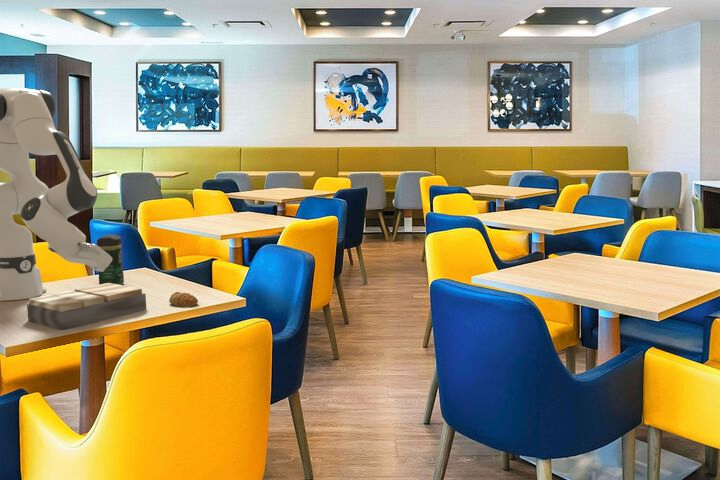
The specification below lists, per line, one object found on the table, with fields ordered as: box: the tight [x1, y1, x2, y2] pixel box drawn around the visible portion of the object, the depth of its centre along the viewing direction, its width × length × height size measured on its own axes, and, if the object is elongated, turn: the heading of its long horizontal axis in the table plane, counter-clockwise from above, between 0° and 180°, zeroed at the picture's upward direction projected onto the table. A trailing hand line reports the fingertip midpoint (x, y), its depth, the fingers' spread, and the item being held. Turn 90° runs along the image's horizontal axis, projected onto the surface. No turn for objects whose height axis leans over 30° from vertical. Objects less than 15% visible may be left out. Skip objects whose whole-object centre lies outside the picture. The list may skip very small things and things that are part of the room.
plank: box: [74, 283, 143, 301], centre depth 213 cm, size 17×12×2 cm
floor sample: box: [26, 290, 147, 331], centre depth 208 cm, size 18×28×7 cm, turn 144°
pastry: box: [168, 291, 199, 307], centre depth 220 cm, size 9×7×4 cm
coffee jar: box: [96, 234, 125, 285], centre depth 250 cm, size 10×8×19 cm
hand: (101, 269), depth 211 cm, fingers closed
